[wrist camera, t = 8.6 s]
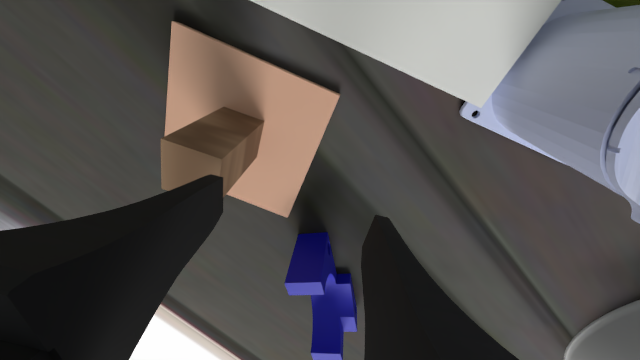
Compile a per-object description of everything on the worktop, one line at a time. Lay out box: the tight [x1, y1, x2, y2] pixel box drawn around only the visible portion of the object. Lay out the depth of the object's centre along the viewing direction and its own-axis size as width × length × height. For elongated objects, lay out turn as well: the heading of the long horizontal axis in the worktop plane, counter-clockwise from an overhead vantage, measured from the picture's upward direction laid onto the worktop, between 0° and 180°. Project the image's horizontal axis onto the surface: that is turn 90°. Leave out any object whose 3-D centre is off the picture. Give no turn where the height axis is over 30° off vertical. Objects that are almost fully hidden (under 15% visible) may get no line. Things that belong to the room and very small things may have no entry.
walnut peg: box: [161, 107, 264, 197], centre depth 16 cm, size 3×3×7 cm
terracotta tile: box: [165, 21, 340, 218], centre depth 20 cm, size 12×12×1 cm
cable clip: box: [285, 232, 357, 360], centre depth 25 cm, size 12×4×6 cm, turn 11°
